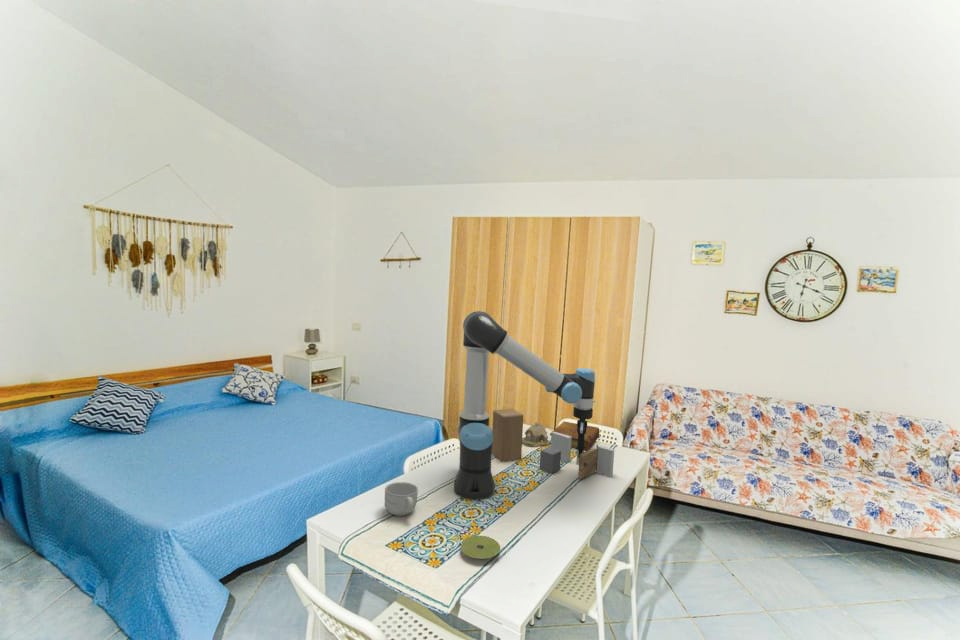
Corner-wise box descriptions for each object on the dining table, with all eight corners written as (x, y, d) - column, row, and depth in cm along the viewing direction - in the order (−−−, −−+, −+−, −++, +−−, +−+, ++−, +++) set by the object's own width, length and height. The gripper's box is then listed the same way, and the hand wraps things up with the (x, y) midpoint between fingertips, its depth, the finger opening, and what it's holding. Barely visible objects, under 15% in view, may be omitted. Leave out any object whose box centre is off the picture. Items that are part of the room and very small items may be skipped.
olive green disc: (487, 537, 138) (488, 531, 138) (507, 558, 128) (507, 552, 128) (453, 547, 132) (453, 540, 132) (471, 569, 123) (471, 562, 122)
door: (600, 471, 190) (602, 446, 189) (583, 480, 180) (585, 454, 179) (595, 469, 191) (596, 444, 190) (578, 478, 182) (579, 452, 181)
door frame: (609, 477, 185) (611, 450, 184) (549, 456, 205) (551, 432, 204) (612, 475, 187) (614, 449, 186) (552, 455, 206) (554, 431, 205)
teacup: (381, 505, 155) (382, 482, 154) (413, 501, 159) (414, 478, 158) (388, 526, 142) (389, 501, 141) (423, 521, 146) (424, 497, 145)
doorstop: (551, 473, 186) (552, 454, 186) (539, 469, 190) (540, 450, 190) (559, 469, 191) (561, 451, 190) (547, 465, 195) (548, 447, 194)
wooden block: (490, 453, 205) (492, 410, 203) (510, 451, 209) (512, 408, 208) (501, 462, 196) (503, 416, 194) (521, 459, 200) (523, 414, 198)
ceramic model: (535, 436, 231) (536, 417, 230) (553, 443, 222) (554, 423, 222) (516, 442, 221) (517, 422, 220) (534, 449, 213) (535, 428, 212)
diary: (588, 453, 213) (589, 441, 212) (549, 445, 221) (550, 433, 221) (599, 438, 233) (599, 427, 233) (563, 431, 242) (563, 420, 241)
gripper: (592, 412, 176) (588, 472, 179) (593, 404, 189) (589, 459, 191) (572, 410, 178) (569, 469, 181) (574, 402, 191) (571, 457, 193)
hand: (579, 464), depth 186 cm, fingers closed
